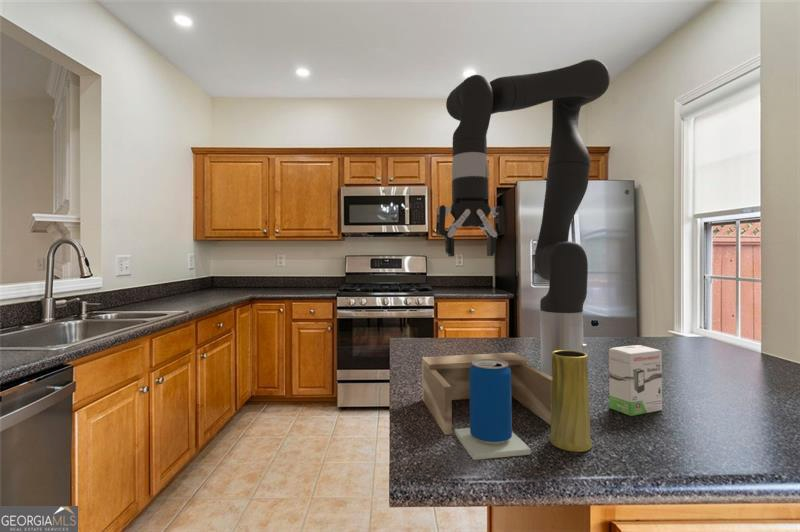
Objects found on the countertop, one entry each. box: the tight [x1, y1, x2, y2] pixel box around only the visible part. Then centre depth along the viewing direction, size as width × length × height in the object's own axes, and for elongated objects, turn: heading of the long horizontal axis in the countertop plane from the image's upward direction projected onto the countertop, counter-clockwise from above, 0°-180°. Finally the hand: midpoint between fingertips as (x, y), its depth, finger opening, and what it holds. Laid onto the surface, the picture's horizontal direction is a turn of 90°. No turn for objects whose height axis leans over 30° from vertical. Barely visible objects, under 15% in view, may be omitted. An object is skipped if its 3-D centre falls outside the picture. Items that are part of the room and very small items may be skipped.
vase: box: [549, 350, 593, 453], centre depth 63 cm, size 6×6×14 cm
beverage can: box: [469, 359, 513, 445], centre depth 63 cm, size 6×6×12 cm
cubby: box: [421, 352, 552, 436], centre depth 77 cm, size 20×17×9 cm
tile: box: [454, 427, 532, 461], centre depth 63 cm, size 9×9×1 cm
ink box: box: [608, 344, 663, 417], centre depth 77 cm, size 9×5×12 cm, turn 110°
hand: (470, 256), depth 83 cm, fingers open, 8 cm apart
